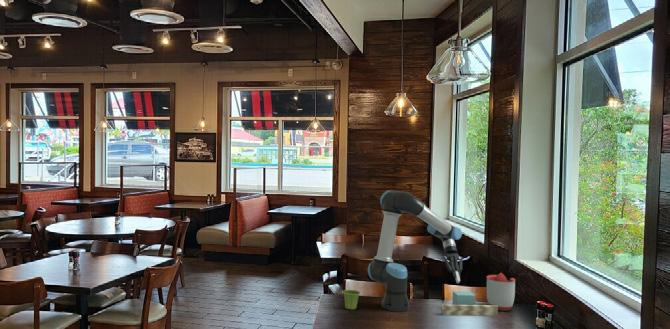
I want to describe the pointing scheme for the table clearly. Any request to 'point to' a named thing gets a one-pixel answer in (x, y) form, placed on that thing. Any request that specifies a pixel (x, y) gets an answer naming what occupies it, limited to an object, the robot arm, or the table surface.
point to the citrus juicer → (500, 291)
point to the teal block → (463, 298)
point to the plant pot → (351, 298)
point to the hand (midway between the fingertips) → (458, 282)
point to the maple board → (470, 310)
